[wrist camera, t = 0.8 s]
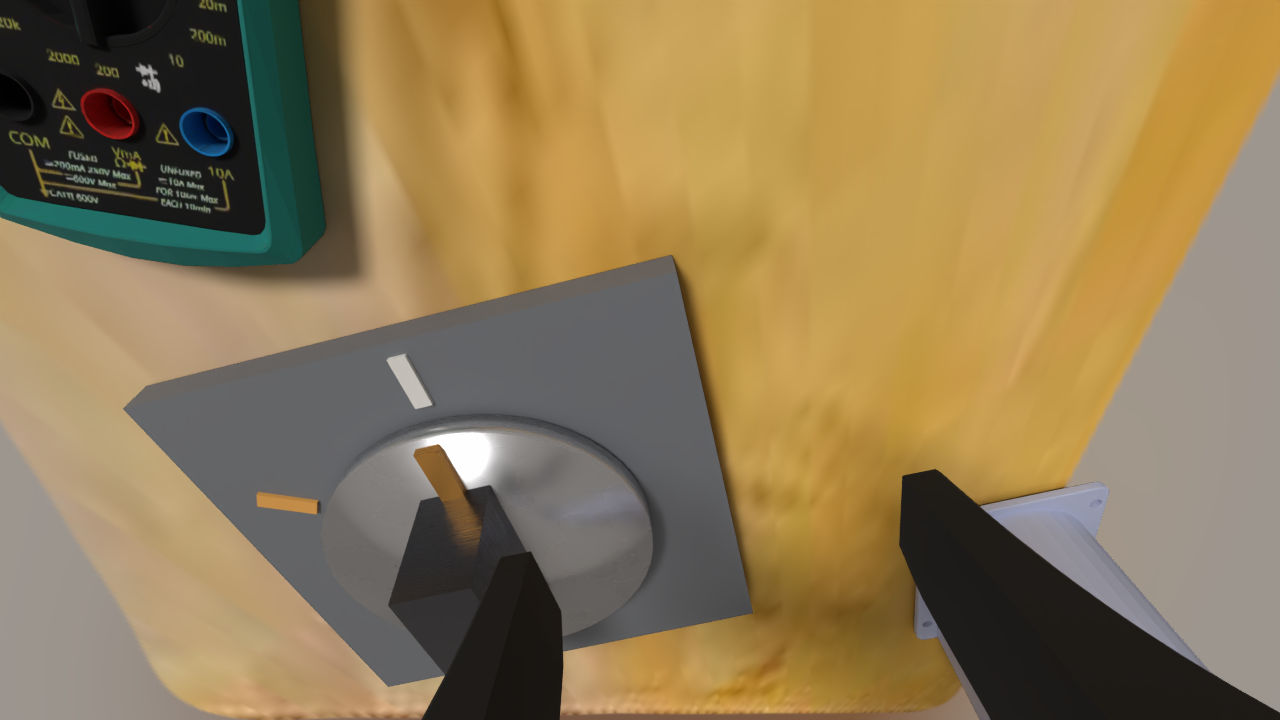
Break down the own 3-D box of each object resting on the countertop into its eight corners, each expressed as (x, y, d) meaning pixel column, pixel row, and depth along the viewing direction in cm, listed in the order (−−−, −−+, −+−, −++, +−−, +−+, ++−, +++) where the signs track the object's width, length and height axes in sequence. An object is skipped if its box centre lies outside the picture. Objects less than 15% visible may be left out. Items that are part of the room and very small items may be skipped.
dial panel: (747, 590, 29) (753, 616, 28) (394, 662, 30) (387, 689, 29) (671, 254, 19) (677, 273, 17) (146, 386, 20) (119, 411, 19)
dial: (677, 592, 26) (694, 712, 22) (418, 646, 27) (387, 771, 23) (605, 378, 19) (609, 493, 15) (262, 458, 20) (178, 588, 16)
